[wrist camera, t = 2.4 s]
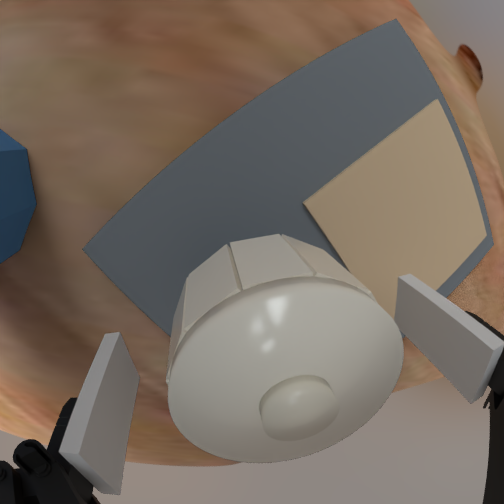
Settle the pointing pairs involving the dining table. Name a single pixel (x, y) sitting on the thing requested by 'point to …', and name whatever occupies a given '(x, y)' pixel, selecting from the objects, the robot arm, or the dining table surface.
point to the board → (315, 182)
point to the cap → (277, 352)
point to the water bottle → (14, 195)
